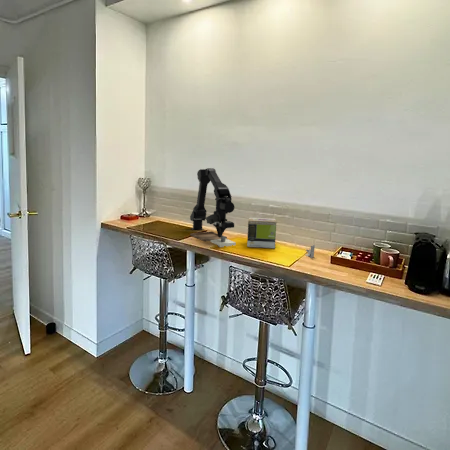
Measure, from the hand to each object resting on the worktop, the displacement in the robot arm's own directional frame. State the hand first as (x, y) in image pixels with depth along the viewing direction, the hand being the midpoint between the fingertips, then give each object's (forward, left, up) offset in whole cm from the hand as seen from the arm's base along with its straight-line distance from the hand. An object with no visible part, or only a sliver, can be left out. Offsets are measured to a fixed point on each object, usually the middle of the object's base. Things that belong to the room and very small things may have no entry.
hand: (219, 237), depth 192 cm
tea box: (+15, +17, -3) cm, 23 cm away
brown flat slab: (-12, 0, -3) cm, 12 cm away
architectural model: (+41, +20, -4) cm, 46 cm away
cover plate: (+3, 0, -4) cm, 5 cm away
